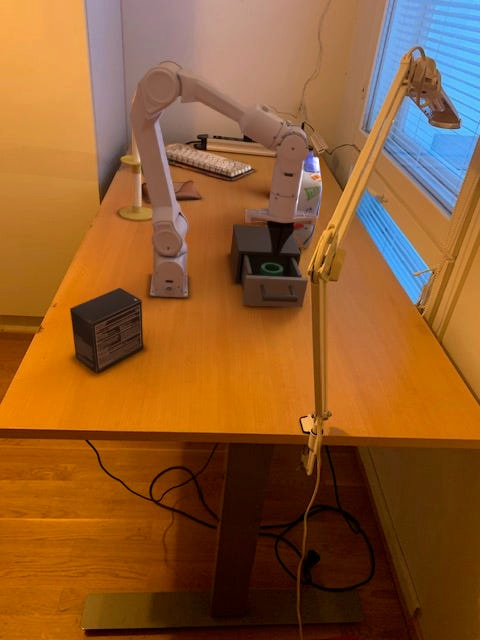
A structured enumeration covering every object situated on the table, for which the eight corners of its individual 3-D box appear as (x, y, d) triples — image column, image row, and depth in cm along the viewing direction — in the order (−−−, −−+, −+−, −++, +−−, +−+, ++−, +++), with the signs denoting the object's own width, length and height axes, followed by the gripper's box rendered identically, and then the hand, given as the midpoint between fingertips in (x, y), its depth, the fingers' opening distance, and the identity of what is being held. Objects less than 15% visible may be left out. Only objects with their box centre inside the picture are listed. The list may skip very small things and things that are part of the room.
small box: (121, 333, 93) (119, 285, 87) (145, 348, 90) (144, 299, 84) (73, 357, 86) (67, 306, 80) (97, 374, 82) (92, 323, 77)
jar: (277, 281, 112) (280, 262, 109) (281, 292, 108) (284, 273, 105) (257, 280, 111) (259, 261, 108) (260, 291, 107) (262, 272, 104)
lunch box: (274, 214, 151) (285, 141, 139) (307, 218, 151) (321, 145, 139) (273, 253, 128) (287, 169, 116) (313, 258, 128) (330, 175, 116)
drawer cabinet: (294, 286, 115) (301, 253, 110) (235, 283, 113) (238, 250, 108) (284, 257, 127) (289, 227, 122) (230, 255, 125) (233, 224, 120)
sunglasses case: (148, 202, 148) (144, 179, 147) (142, 206, 154) (139, 184, 153) (203, 198, 155) (200, 176, 155) (195, 202, 162) (192, 181, 161)
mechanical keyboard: (255, 170, 187) (256, 161, 185) (230, 182, 173) (231, 173, 171) (174, 149, 200) (174, 140, 199) (145, 158, 186) (144, 149, 184)
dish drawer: (307, 321, 101) (313, 294, 97) (245, 319, 99) (249, 291, 96) (290, 276, 117) (295, 251, 113) (237, 274, 115) (239, 248, 111)
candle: (161, 213, 143) (163, 92, 125) (139, 223, 135) (137, 96, 118) (135, 204, 147) (133, 85, 129) (111, 213, 139) (106, 89, 121)
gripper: (315, 187, 101) (304, 247, 108) (246, 182, 99) (239, 244, 106) (324, 199, 95) (311, 262, 103) (250, 195, 93) (242, 259, 101)
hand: (275, 254), depth 104 cm, fingers closed
